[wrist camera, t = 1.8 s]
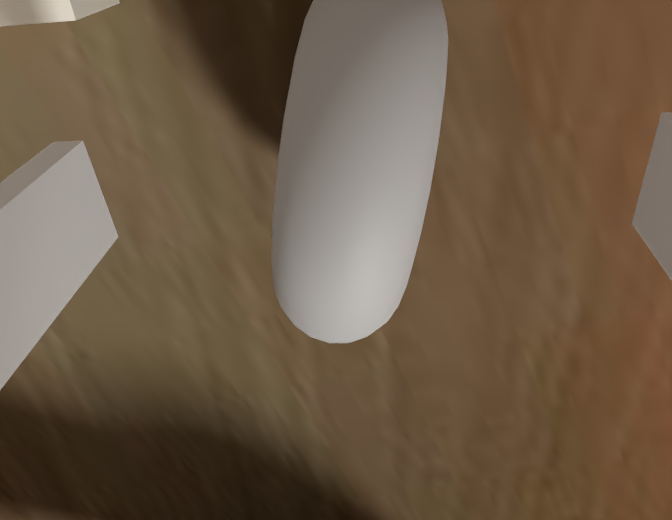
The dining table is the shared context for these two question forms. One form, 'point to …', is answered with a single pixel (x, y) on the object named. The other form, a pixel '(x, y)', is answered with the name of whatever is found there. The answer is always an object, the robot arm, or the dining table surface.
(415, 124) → the grey curved piece
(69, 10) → the tray
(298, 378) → the dining table surface
